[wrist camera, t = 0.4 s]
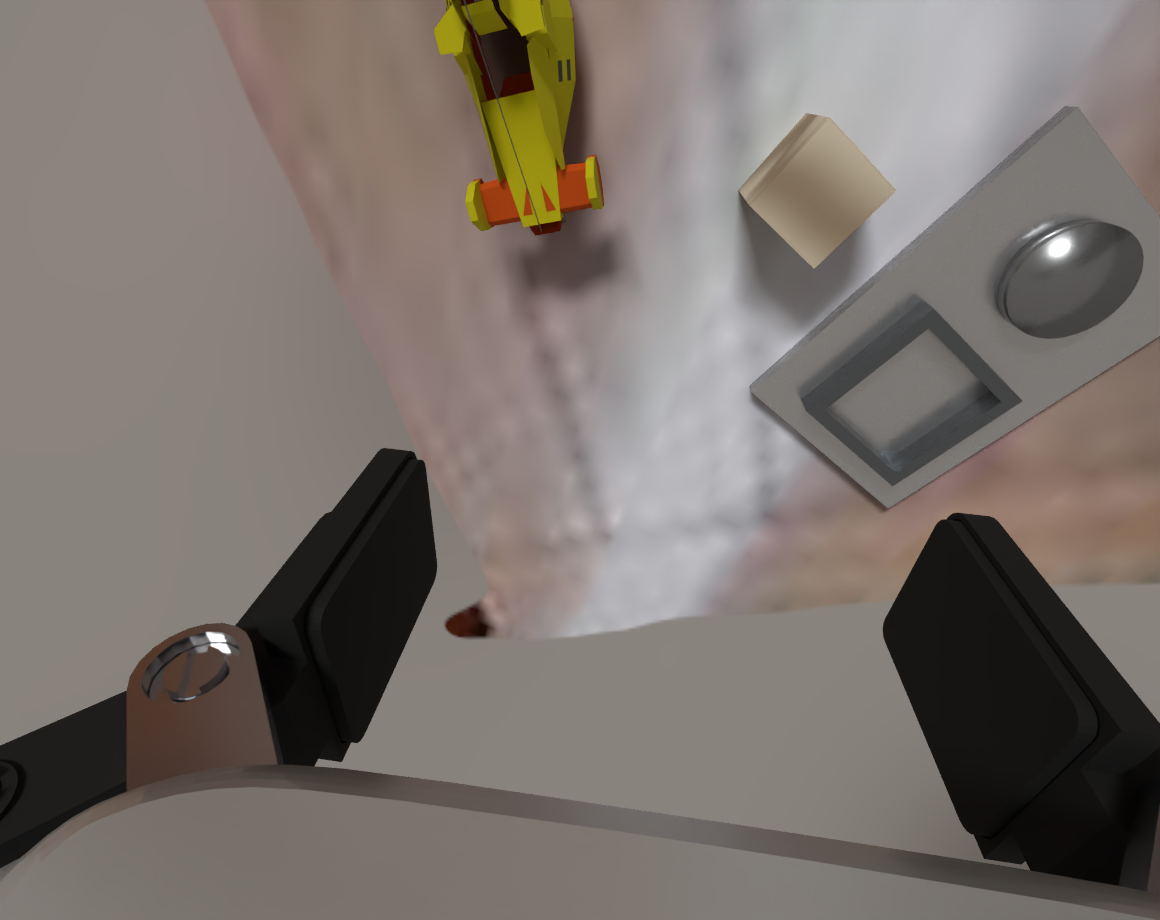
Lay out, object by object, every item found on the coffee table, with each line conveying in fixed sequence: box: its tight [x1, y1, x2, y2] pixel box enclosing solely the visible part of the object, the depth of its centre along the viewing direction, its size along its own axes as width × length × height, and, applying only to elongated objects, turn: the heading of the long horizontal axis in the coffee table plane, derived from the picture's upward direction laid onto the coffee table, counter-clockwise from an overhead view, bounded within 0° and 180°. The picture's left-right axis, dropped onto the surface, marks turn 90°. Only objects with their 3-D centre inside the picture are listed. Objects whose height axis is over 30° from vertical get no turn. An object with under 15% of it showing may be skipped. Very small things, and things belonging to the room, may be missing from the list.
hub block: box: [739, 113, 896, 269], centre depth 28 cm, size 5×5×5 cm
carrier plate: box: [750, 106, 1160, 508], centre depth 33 cm, size 20×14×2 cm
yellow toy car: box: [434, 0, 604, 235], centre depth 24 cm, size 6×18×10 cm, turn 10°
